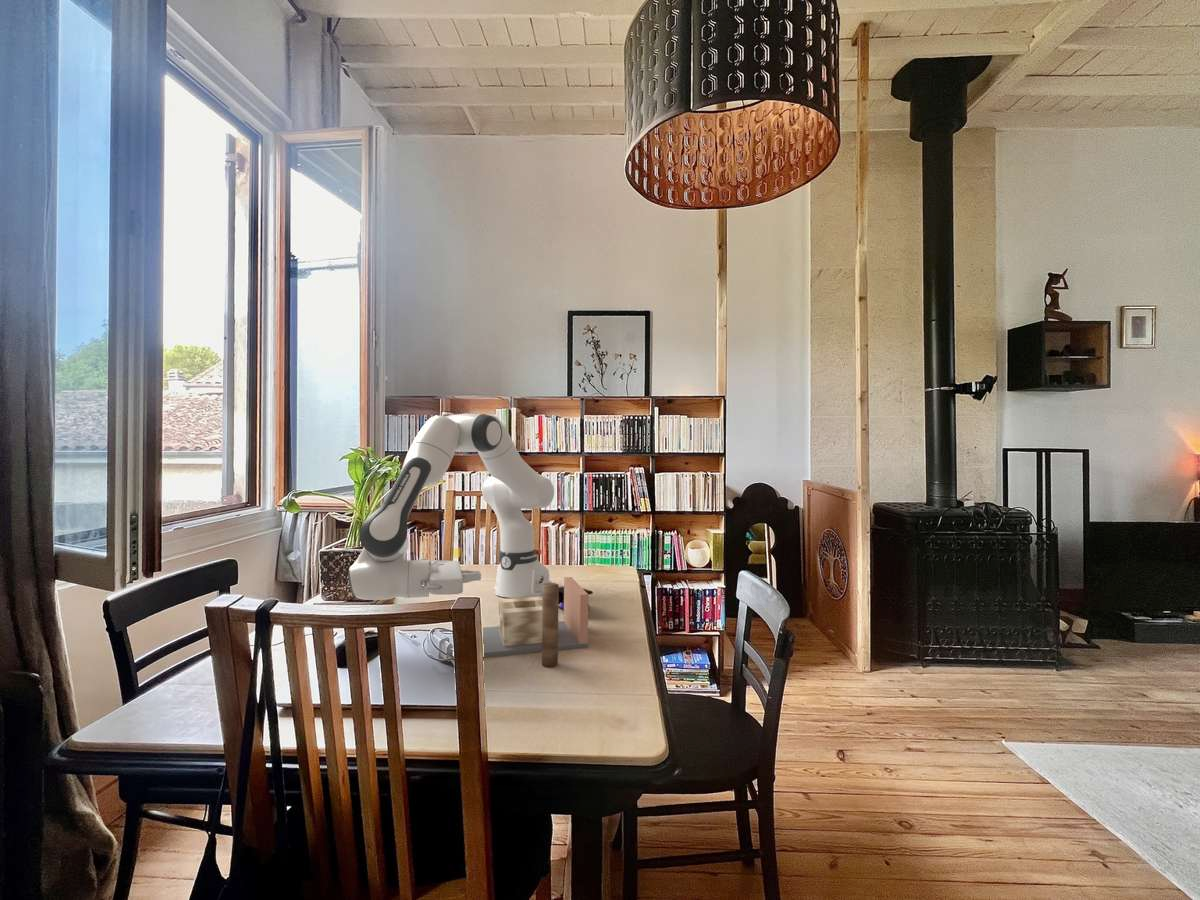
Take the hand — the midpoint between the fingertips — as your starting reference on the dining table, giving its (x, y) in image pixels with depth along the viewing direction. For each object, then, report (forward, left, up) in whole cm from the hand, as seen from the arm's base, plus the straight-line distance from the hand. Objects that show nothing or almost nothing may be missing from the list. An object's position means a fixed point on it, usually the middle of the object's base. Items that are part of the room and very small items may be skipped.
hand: (480, 575), depth 140 cm
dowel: (+2, +22, -17) cm, 28 cm away
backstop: (-8, +8, -17) cm, 21 cm away
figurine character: (-34, +5, -17) cm, 39 cm away
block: (-8, +8, -16) cm, 20 cm away
